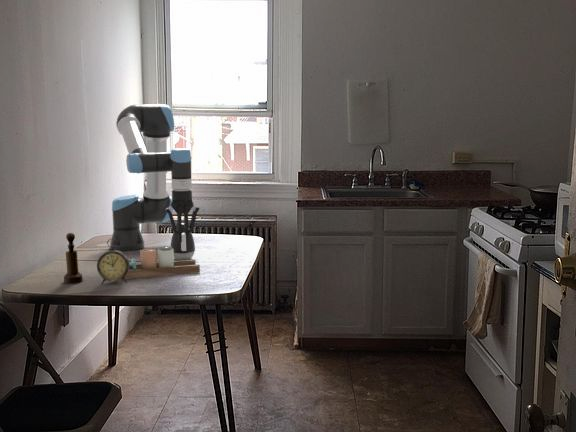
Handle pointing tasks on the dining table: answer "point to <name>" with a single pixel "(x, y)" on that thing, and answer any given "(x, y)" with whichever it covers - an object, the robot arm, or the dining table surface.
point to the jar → (165, 256)
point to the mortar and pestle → (72, 262)
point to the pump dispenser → (177, 246)
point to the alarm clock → (113, 265)
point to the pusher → (133, 264)
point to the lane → (164, 270)
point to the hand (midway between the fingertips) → (183, 250)
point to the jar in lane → (148, 258)
